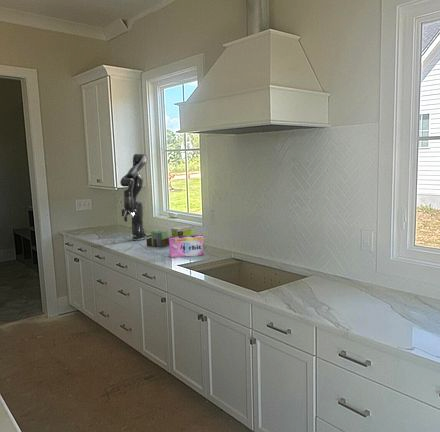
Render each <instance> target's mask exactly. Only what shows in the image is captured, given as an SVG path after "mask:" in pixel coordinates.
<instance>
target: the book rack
mask: <svg viewBox="0 0 440 432" xmlns="http://www.w3.org/2000/svg"><path fill="white" fill-rule="evenodd" d="M145 239H146V247H147V248H158V247H157V243H156V239H154V246H152V238H151V237H147V238H145ZM165 247H170V245H169V237H168V238H166V239H163V240H162V247H161V249H163V248H165Z"/></svg>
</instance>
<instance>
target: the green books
mask: <svg viewBox="0 0 440 432" xmlns="http://www.w3.org/2000/svg"><path fill="white" fill-rule="evenodd" d="M157 232H161V230H160V229H154V230H151V231H150V235H151V236H150V238H152V246H154V239H156V233H157Z"/></svg>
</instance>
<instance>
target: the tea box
mask: <svg viewBox="0 0 440 432" xmlns="http://www.w3.org/2000/svg"><path fill="white" fill-rule="evenodd" d="M170 231H171V237H176V236H192V235H195V227H194V226H190V225H183V226H177V227H172V228H171V229H170Z"/></svg>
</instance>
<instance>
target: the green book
mask: <svg viewBox="0 0 440 432" xmlns="http://www.w3.org/2000/svg"><path fill="white" fill-rule="evenodd" d="M161 231H162V232H161ZM161 231H160V232H161V242H162V240H163V239H166V238H169V237H168V229H167V230H161Z"/></svg>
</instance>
